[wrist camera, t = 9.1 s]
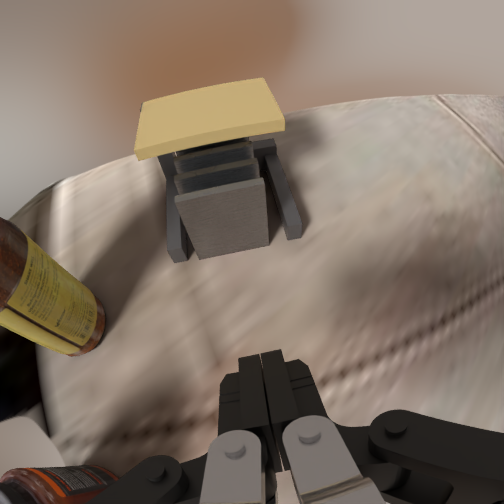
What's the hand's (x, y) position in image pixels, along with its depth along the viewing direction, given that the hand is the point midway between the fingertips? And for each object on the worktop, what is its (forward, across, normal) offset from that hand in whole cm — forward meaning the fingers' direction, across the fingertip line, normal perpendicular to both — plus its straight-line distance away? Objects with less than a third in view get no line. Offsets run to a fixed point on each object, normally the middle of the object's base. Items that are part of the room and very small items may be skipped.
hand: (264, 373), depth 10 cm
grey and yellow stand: (+20, 0, -4) cm, 20 cm away
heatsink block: (+20, +1, -4) cm, 20 cm away
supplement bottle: (+2, +15, +13) cm, 19 cm away
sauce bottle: (+13, +16, +2) cm, 20 cm away
